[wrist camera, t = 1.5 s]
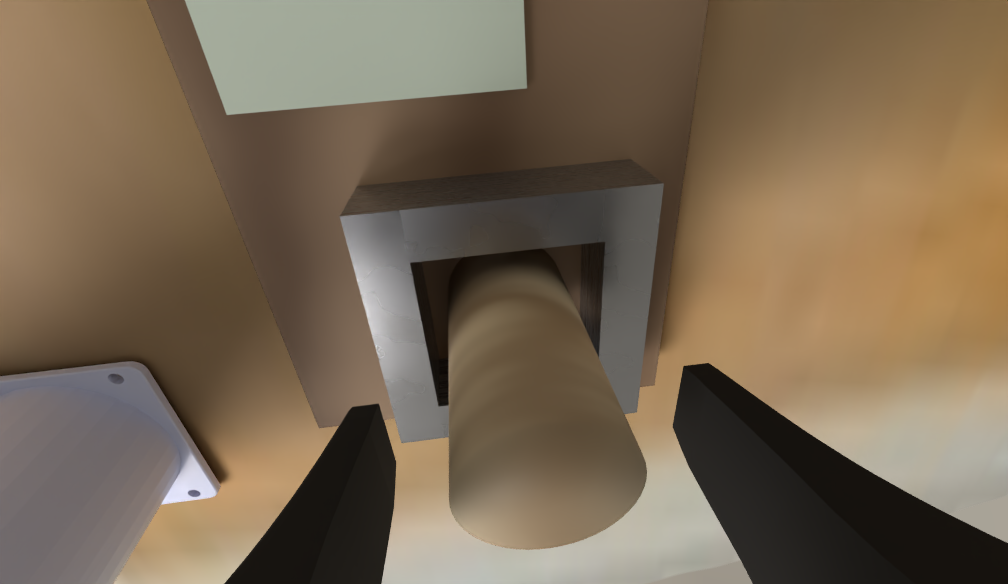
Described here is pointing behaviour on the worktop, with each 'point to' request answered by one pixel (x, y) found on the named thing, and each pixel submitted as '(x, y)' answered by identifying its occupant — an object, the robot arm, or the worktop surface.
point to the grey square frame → (498, 229)
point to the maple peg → (531, 410)
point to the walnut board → (442, 167)
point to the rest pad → (358, 50)
